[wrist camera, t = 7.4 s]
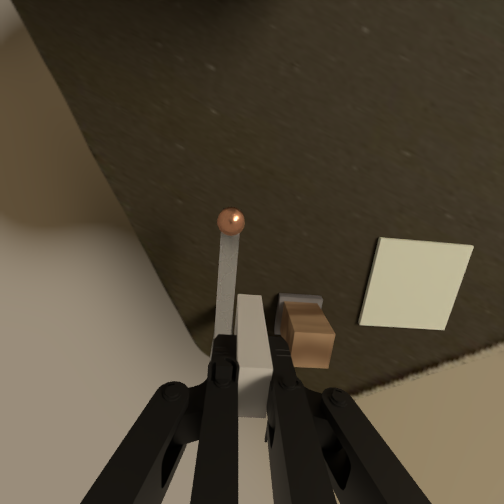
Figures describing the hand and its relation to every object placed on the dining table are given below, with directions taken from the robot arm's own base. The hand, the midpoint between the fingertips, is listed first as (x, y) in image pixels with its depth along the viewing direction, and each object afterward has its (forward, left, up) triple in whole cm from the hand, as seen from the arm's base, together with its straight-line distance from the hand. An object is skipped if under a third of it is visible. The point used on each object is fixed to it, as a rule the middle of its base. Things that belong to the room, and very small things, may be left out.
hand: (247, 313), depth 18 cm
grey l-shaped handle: (+3, -2, -21) cm, 21 cm away
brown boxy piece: (+12, +9, -21) cm, 26 cm away
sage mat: (+6, +26, -21) cm, 34 cm away
